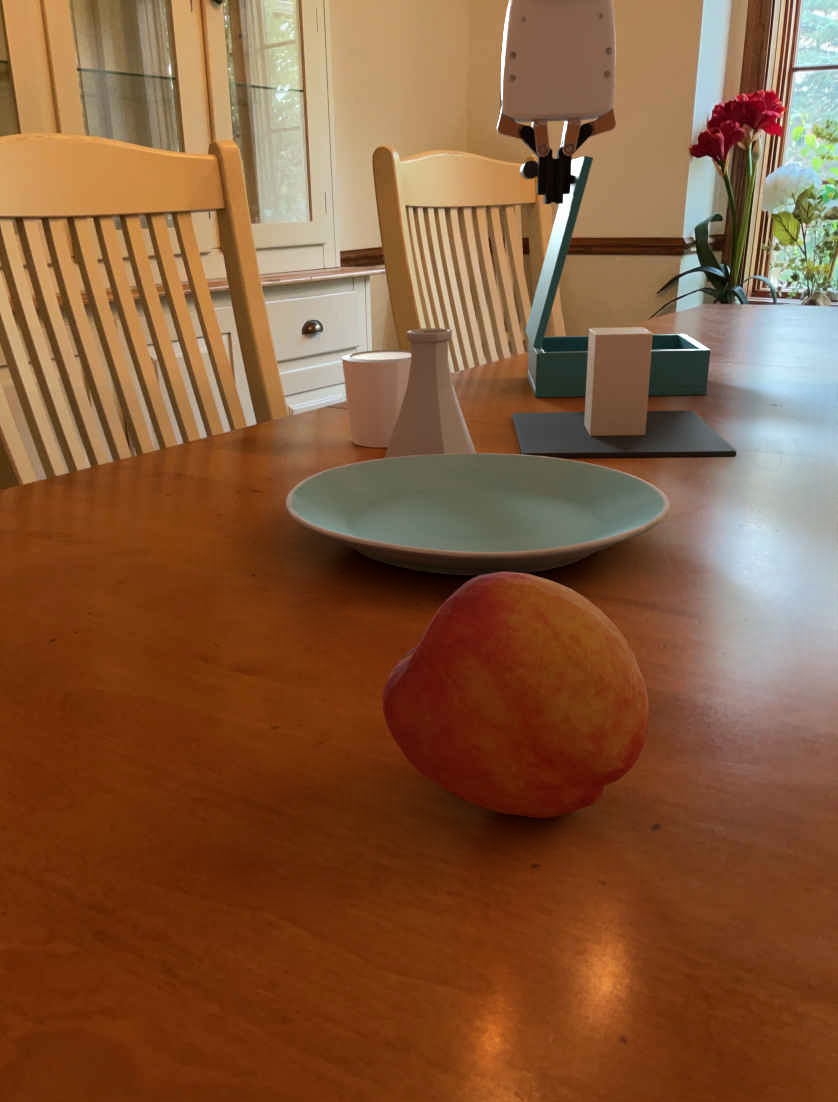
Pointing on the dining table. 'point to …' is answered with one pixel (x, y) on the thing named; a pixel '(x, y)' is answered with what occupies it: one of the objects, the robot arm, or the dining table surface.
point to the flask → (429, 402)
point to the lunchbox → (565, 359)
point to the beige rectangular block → (617, 381)
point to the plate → (476, 510)
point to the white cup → (375, 393)
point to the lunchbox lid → (555, 246)
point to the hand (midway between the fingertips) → (552, 203)
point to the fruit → (519, 698)
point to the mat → (618, 437)
